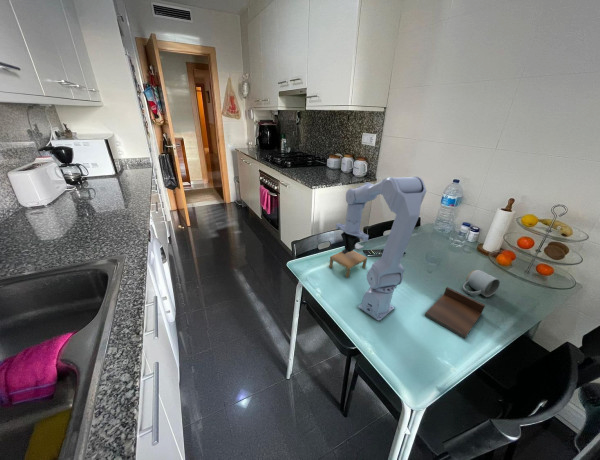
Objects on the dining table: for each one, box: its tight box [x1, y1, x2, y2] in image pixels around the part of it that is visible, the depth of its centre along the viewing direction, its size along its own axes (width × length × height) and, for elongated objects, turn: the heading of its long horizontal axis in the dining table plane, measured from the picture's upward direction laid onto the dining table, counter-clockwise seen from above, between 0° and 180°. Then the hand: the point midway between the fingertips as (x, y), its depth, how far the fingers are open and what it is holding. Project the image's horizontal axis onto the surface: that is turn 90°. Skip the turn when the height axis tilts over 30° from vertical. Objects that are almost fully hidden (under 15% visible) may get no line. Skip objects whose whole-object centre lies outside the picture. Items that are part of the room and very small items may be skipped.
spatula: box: [341, 242, 365, 254], centre depth 102 cm, size 11×4×1 cm, turn 131°
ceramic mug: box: [462, 269, 501, 298], centre depth 93 cm, size 11×8×8 cm
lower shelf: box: [424, 286, 486, 340], centre depth 82 cm, size 16×12×4 cm
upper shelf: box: [328, 250, 368, 279], centre depth 105 cm, size 12×10×5 cm
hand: (348, 250), depth 101 cm, fingers closed on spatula, 1 cm apart
